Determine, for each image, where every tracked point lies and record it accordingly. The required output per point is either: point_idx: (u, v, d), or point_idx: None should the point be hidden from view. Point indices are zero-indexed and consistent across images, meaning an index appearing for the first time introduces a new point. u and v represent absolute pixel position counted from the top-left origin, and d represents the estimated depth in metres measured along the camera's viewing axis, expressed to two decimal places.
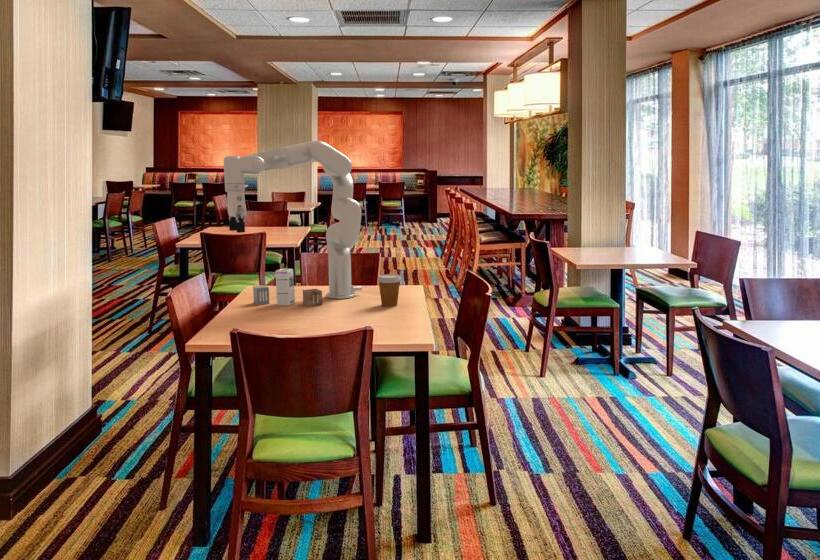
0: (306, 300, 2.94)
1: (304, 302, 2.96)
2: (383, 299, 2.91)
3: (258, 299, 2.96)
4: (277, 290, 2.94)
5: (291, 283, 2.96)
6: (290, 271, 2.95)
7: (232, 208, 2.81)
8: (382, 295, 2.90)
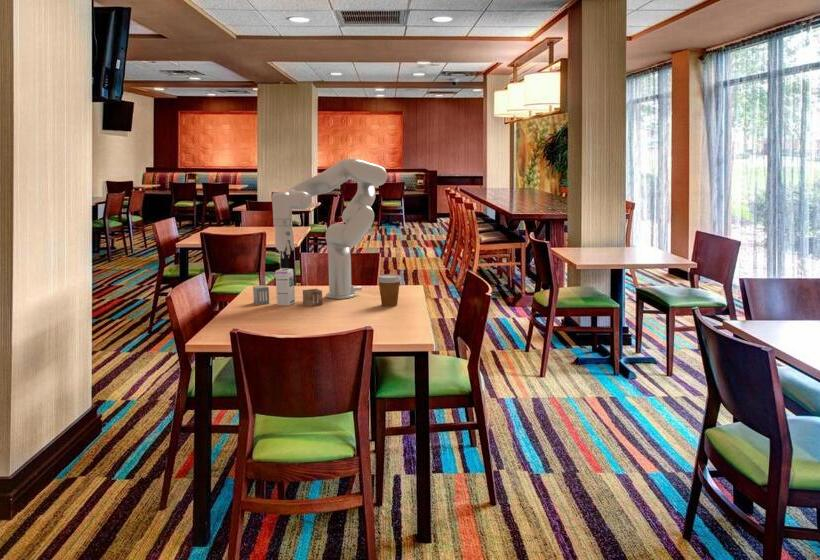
0: (306, 300, 2.94)
1: (304, 302, 2.96)
2: (383, 299, 2.91)
3: (258, 299, 2.96)
4: (277, 290, 2.94)
5: (291, 283, 2.96)
6: (290, 271, 2.95)
7: (281, 243, 2.90)
8: (382, 295, 2.90)
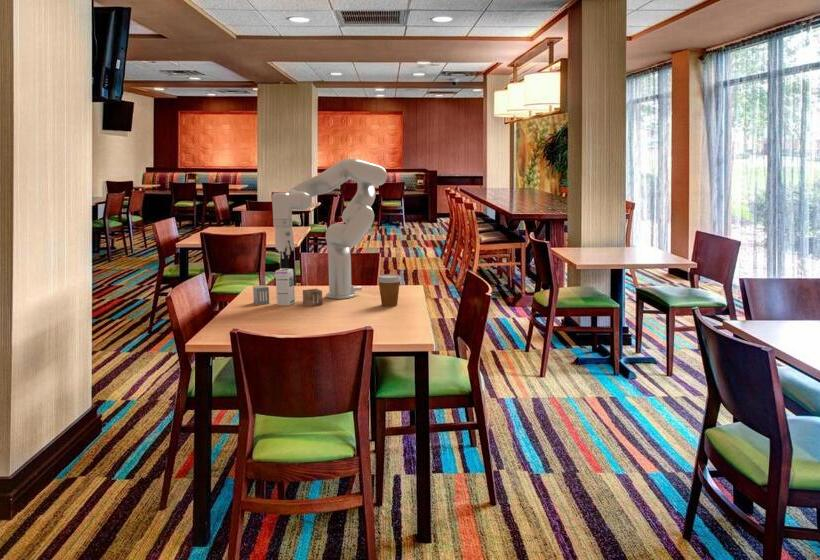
0: (306, 300, 2.94)
1: (304, 302, 2.96)
2: (383, 299, 2.91)
3: (258, 299, 2.96)
4: (277, 290, 2.94)
5: (291, 283, 2.96)
6: (290, 271, 2.95)
7: (281, 243, 2.90)
8: (382, 295, 2.90)
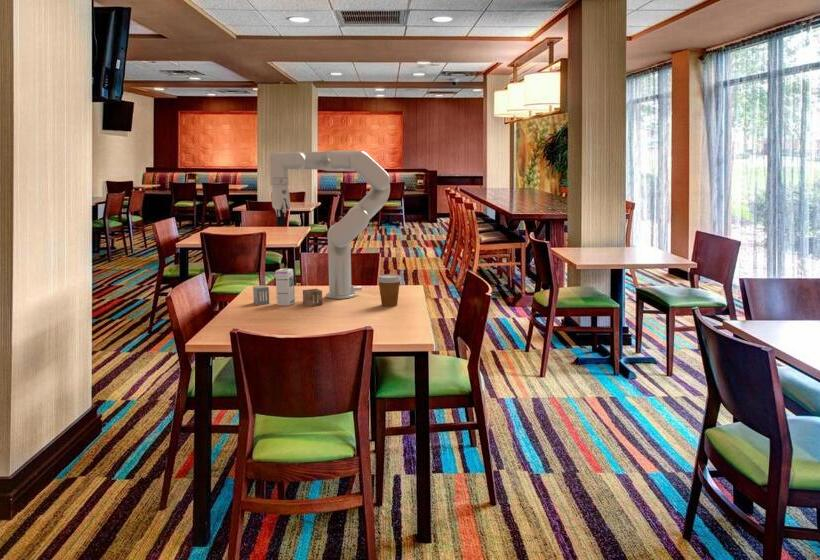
0: (306, 300, 2.94)
1: (304, 302, 2.96)
2: (383, 299, 2.91)
3: (258, 299, 2.96)
4: (277, 290, 2.94)
5: (291, 283, 2.96)
6: (290, 271, 2.95)
7: (277, 201, 3.00)
8: (382, 295, 2.90)
